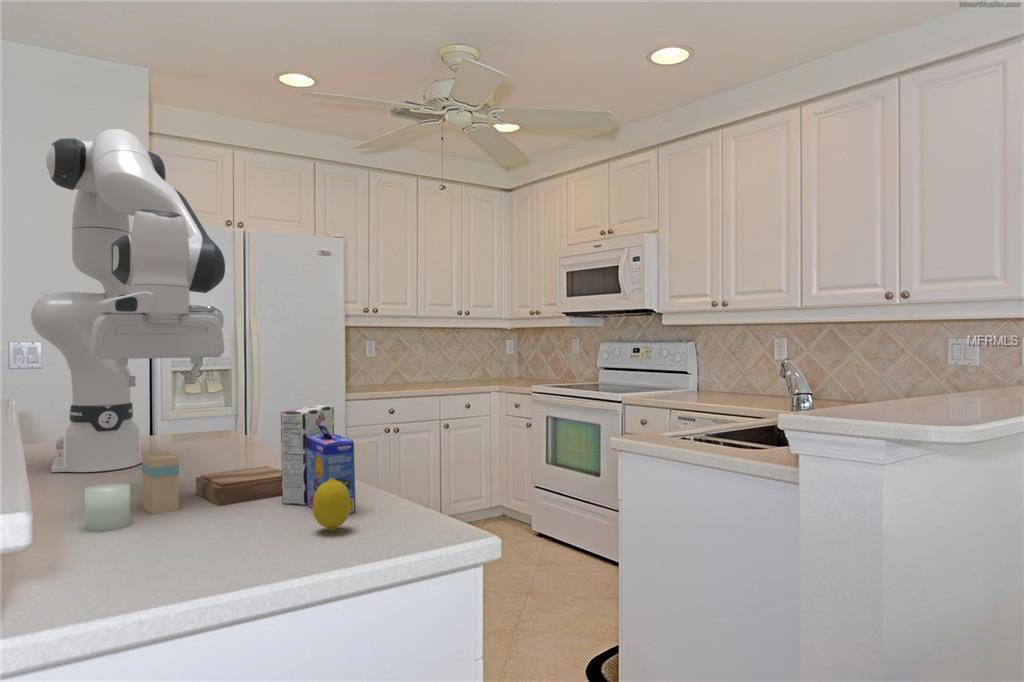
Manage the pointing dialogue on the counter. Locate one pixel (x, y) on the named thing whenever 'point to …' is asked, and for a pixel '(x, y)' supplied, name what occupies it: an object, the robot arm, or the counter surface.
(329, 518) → the lemon
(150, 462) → the carton
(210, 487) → the podium
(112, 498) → the pale green candle
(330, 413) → the candy bar box
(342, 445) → the ink cartridge box
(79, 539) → the counter surface
